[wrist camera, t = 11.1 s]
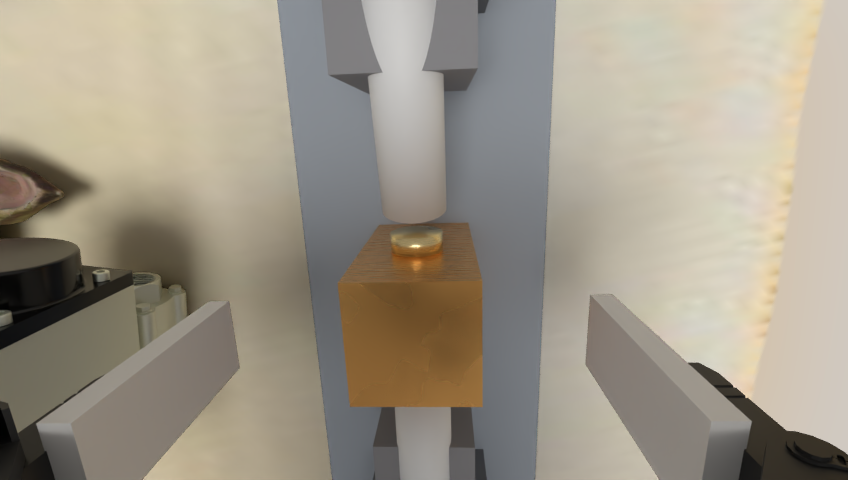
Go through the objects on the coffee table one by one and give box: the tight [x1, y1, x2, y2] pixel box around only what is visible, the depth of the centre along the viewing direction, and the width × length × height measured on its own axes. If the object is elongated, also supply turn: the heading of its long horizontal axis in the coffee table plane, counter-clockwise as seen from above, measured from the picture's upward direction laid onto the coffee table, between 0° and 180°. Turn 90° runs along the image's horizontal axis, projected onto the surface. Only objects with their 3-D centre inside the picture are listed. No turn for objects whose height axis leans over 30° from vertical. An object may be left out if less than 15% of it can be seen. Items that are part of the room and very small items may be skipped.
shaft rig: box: [277, 0, 556, 480], centre depth 17 cm, size 32×12×9 cm, turn 2°
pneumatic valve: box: [0, 238, 187, 433], centre depth 17 cm, size 6×12×12 cm, turn 175°
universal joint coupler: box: [338, 222, 483, 407], centre depth 17 cm, size 6×4×8 cm
